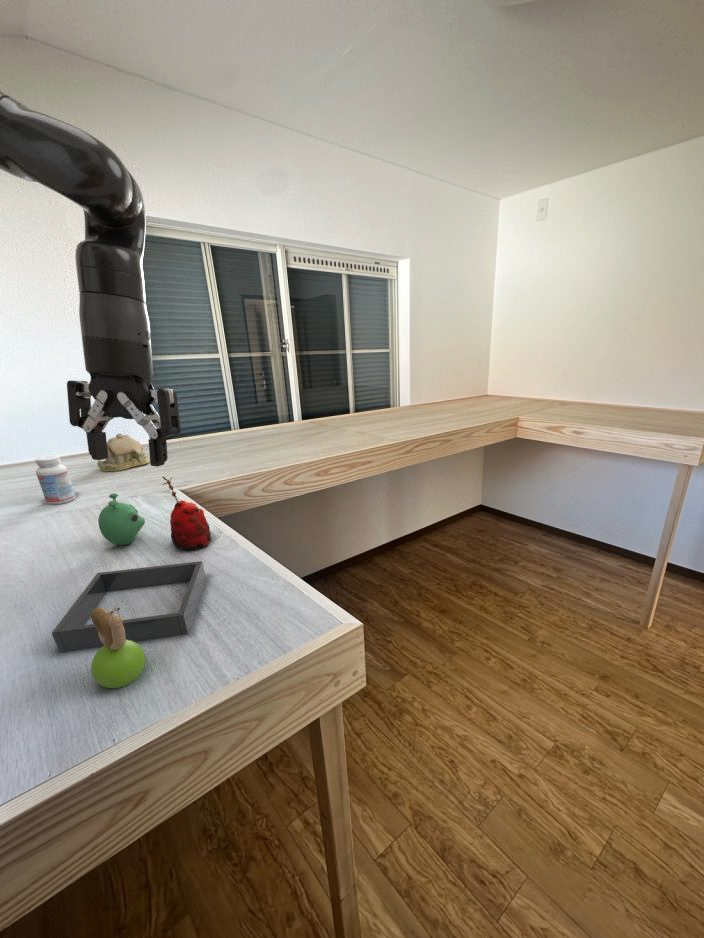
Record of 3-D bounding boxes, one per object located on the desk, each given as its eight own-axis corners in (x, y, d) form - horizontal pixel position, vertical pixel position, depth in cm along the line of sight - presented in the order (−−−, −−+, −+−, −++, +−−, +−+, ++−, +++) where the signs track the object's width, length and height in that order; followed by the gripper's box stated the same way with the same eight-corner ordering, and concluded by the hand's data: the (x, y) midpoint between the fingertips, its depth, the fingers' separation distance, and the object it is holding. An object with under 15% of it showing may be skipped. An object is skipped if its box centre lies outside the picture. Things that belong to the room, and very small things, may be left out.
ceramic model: (132, 458, 139) (124, 428, 135) (158, 460, 136) (150, 430, 132) (93, 470, 127) (83, 438, 123) (120, 473, 124) (111, 440, 120)
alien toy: (150, 545, 82) (137, 498, 78) (104, 554, 79) (89, 506, 75) (148, 531, 88) (137, 487, 84) (106, 540, 84) (91, 494, 80)
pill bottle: (40, 503, 103) (24, 460, 98) (65, 495, 108) (50, 453, 103) (58, 506, 101) (42, 462, 96) (82, 497, 106) (68, 455, 102)
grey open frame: (61, 657, 54) (51, 632, 52) (104, 593, 67) (97, 572, 65) (189, 638, 57) (183, 614, 55) (206, 581, 70) (202, 560, 68)
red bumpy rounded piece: (218, 544, 82) (204, 472, 76) (182, 557, 78) (164, 481, 71) (202, 532, 87) (188, 464, 81) (167, 544, 83) (150, 472, 76)
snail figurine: (118, 709, 46) (86, 623, 42) (89, 686, 49) (56, 603, 45) (164, 677, 51) (139, 596, 46) (134, 658, 54) (109, 579, 49)
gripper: (39, 329, 50) (58, 461, 55) (151, 338, 49) (160, 472, 54) (88, 337, 57) (101, 453, 62) (186, 345, 56) (192, 463, 61)
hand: (129, 462), depth 58 cm, fingers open, 8 cm apart
